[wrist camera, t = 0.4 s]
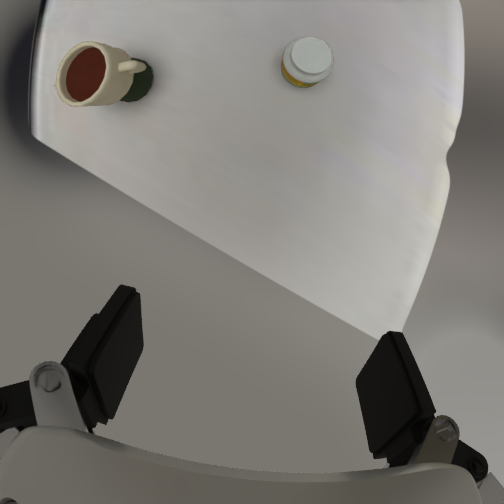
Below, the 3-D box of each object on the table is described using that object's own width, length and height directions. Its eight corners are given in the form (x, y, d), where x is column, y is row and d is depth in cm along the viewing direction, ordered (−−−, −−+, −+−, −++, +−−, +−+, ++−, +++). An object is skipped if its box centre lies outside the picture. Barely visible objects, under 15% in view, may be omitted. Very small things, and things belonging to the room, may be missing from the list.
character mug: (171, 50, 30) (128, 27, 19) (171, 99, 34) (127, 96, 22) (101, 65, 31) (43, 57, 19) (101, 110, 34) (43, 117, 22)
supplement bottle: (305, 42, 29) (317, 21, 21) (331, 74, 31) (350, 63, 22) (271, 63, 31) (272, 47, 22) (297, 95, 33) (307, 89, 24)
